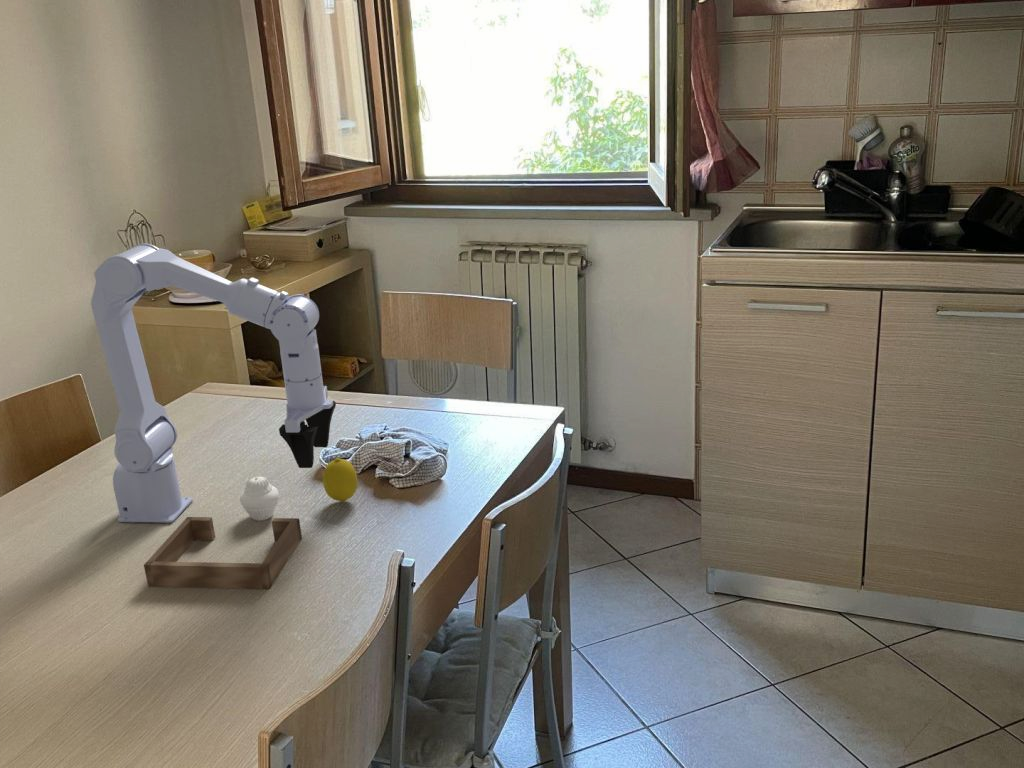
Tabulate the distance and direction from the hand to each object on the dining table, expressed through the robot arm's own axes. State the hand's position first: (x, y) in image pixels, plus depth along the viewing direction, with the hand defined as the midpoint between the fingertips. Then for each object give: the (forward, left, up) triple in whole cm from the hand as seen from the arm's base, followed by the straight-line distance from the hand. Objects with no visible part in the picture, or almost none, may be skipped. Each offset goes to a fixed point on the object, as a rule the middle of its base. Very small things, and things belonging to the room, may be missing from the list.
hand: (313, 456), depth 148 cm
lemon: (+3, +4, -10) cm, 11 cm away
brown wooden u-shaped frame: (-9, -15, -10) cm, 21 cm away
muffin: (-9, -1, -10) cm, 14 cm away
